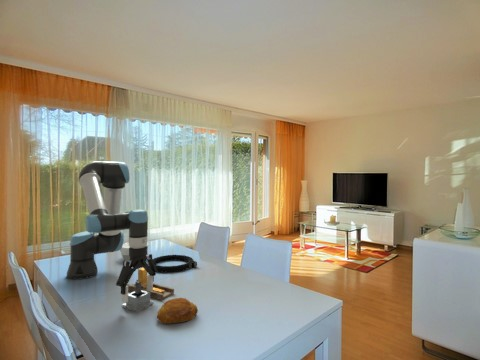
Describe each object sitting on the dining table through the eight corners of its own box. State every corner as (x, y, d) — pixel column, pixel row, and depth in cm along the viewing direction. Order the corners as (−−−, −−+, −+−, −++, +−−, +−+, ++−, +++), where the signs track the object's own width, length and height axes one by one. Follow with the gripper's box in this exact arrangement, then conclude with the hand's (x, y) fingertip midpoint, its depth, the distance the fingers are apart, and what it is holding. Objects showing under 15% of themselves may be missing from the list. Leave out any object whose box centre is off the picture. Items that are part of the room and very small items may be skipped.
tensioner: (134, 287, 142) (134, 269, 142) (142, 284, 146) (142, 266, 146) (158, 294, 134) (158, 275, 134) (166, 290, 139) (166, 271, 138)
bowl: (143, 263, 185) (143, 248, 185) (115, 262, 185) (115, 247, 185) (151, 255, 203) (151, 241, 203) (126, 254, 203) (126, 241, 203)
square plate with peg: (122, 306, 124) (122, 283, 124) (138, 299, 132) (139, 277, 132) (137, 312, 120) (137, 287, 120) (153, 303, 128) (153, 280, 127)
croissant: (197, 328, 112) (200, 308, 112) (155, 328, 108) (159, 306, 108) (193, 310, 126) (196, 292, 126) (156, 309, 122) (159, 290, 122)
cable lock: (161, 252, 197) (203, 255, 191) (161, 258, 197) (203, 261, 191) (139, 265, 170) (187, 269, 164) (139, 271, 170) (187, 275, 164)
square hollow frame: (125, 304, 124) (125, 294, 124) (138, 298, 131) (138, 289, 130) (137, 308, 121) (137, 298, 121) (150, 301, 127) (150, 292, 127)
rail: (125, 289, 143) (125, 284, 143) (138, 284, 150) (138, 279, 150) (161, 300, 131) (161, 294, 131) (173, 293, 138) (174, 288, 138)
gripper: (119, 254, 113) (119, 309, 113) (165, 241, 134) (165, 287, 135) (106, 251, 116) (106, 304, 117) (153, 239, 138) (153, 284, 138)
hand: (138, 295), depth 126 cm, fingers open, 13 cm apart
